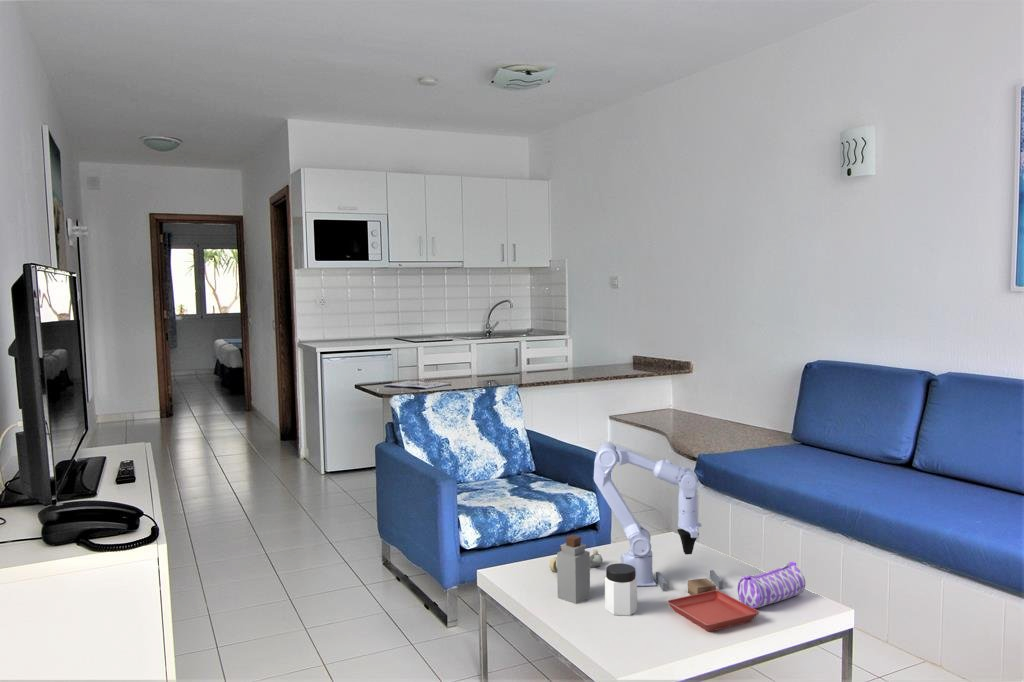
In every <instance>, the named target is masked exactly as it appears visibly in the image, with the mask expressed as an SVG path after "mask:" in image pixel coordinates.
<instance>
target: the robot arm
mask: <svg viewBox="0 0 1024 682" xmlns="http://www.w3.org/2000/svg"><path fill="white" fill-rule="evenodd" d="M594 458H595V459H594V463H593V464H594V465H593V466H594V468H593V482H594V483H595V485H596V487H597V488H598V490H599V491H600V493H601V495H602V496H603V499H604V500H605V501H606V503H607V504H608V506H609V508H610V510H611V511H612V513H613V514H614V516H615V517H616V519H617V521H618V522H619V524H620V526H621V527H622V529H623V531H624V534H625V536H626V539H627V540H628V542H629V546H630V547H629V549H628V552H626V553H622V554H621V556H620V563H622V564H628V565H631V566H633V567H634V568H635V572H636V576H635V577H636V578H637V587H652V586H654V587H656V586H657V582H655V581H656V580H654V578H653V551H652V543H651V534H650V532H649V531H648V530H647V529H646V528H645V527H643V526H642V525H641V523H640V522H639V521H638V520H637V518H636V517H635V516H634V513H633V512H632V510H631V509H630V508H629V506H628V504H627V502H626V501H625V499H624V497H623V496H622V494H621V493H620V491H619V490H618V488H617V487H616V486H617V485H615V483H614V481H613V480H612V478H611V475H612V471H613V469H614V468H615V466H616V465H617V464H618V466H623V465H627V464H630V465H633V466H636V467H639V468H641V469H644V470H648V471H649V472H652V473H653V474H654V477H655V478H657V479H659V480H661V481H664V482H667V483H668V484H669V483H670V484H671V485H674V486H678V487H679V489H678V496H677V497H678V498H677V499H678V504H677V505H678V507H677V509H678V512H677V513H678V517H677V518H678V519H677V520H678V522H677V527H678V529H677V530H676V531H677V533H678V536H679V537H680V541H681V545H682V550H683V553H684V554H685V555H692V554H693V551H694V546H695V543H696V541H697V538H699V535H700V533H699V530H698V529H699V527H700V528H701V527H702V523H701V522H698V521H699V520H698V515H699V514H698V513H699V512H698V510H699V509H698V507H699V501H698V499H699V498H698V497H699V496H698V488H699V486H700V482H699V478H698V476H697V474H696V472H695V471H694V470H693V469H691V468H689V467H686V466H683V465H682V466H679V465H676V464H674V463H671V460H670V459H668V458H667V459H665V460H664V459H660V460H657V461H656V460H653V459H651V458H649V457H647V456H645V455H642V454H640V453H638V452H636V451H633V450H631V449H629V448H626V447H624V446H621V445H619V444H616V445H615V444H614V443H612V442H603V443H602V444H600V446H599V447H598V450H597V451H596V454H595V457H594Z"/></svg>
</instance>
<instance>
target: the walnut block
mask: <svg viewBox="0 0 1024 682" xmlns="http://www.w3.org/2000/svg"><path fill="white" fill-rule="evenodd" d="M713 590H717V586H716V585H715V584H714V582H713V581H712V580H709V579H708V578H707V577H706V578H705V577H703V578H696V579H689V580H688V579H687V594H688V595H689V596H690V595H695V594H699V593H704V592H709V591H713Z"/></svg>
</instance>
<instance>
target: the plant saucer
mask: <svg viewBox="0 0 1024 682" xmlns="http://www.w3.org/2000/svg"><path fill="white" fill-rule="evenodd" d="M666 602H667V604H668V605H669V607H670V608H671V609H672V611H674V612H675V613H677V615H679V616H681V617H683V618H685V619H686V620H687V621H690V622H691V623H692V624H695V625H696V626H697V627H700V628H701V629H703V630H704V631H706V632H713V631H714V632H715V631H717V630H721V629H724V628H725V629H726V628H729V627H733V626H737V625H742V624H746V623H749V622H752V621H753V620H754V619H755V618H756V617H757V616H758V615H759V614H760V611H759V610H758V609H757V608H752V607H750V606H748V605H746V604H744V603H742V602H741V601H740V600H738V599H736V598H734V597H732V596H730V595H728V594H726V593H725V592H723V591H720V590H719V589H718V590H717V589H716V590H713V591H709V592H704V593H699V594H695V595H690V594H689V595H687V596H682V597H677V598H673V599H669V600H667V601H666Z"/></svg>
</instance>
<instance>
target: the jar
mask: <svg viewBox="0 0 1024 682" xmlns="http://www.w3.org/2000/svg"><path fill="white" fill-rule="evenodd" d="M605 571H606V572H605V573H606V576H605V577H604V609H605V610H606V611H607V612H608V613H610V614H611V615H613V616H621V617H622V616H626V617H627V616H629V617H630V616H631V615H633V614H634V613H635V612H636V611H637V610H638V586H637V578H636V577H635V576H636V572H635V568H634V567H633V566H631V565H628V564H622V563H621V562H619V563H612V564H609V565H607V567H606V569H605Z"/></svg>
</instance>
